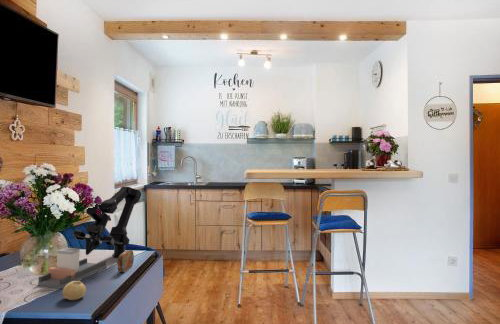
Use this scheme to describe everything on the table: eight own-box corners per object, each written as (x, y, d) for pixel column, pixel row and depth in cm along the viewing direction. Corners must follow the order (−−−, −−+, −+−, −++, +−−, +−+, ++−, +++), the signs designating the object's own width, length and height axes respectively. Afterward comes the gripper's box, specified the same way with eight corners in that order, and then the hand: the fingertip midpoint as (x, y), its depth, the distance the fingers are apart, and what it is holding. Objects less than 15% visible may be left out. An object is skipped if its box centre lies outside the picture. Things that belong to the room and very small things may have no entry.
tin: (122, 274, 160) (122, 256, 160) (115, 274, 160) (116, 256, 160) (134, 264, 175) (134, 247, 175) (128, 264, 175) (128, 247, 175)
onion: (64, 304, 127) (64, 285, 127) (60, 297, 134) (61, 278, 134) (87, 299, 132) (88, 281, 132) (83, 292, 138) (83, 275, 138)
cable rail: (84, 265, 172) (84, 254, 172) (105, 267, 169) (106, 256, 169) (38, 285, 145) (38, 272, 145) (62, 288, 142) (62, 275, 142)
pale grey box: (65, 271, 156) (65, 247, 156) (79, 273, 155) (79, 248, 155) (56, 275, 151) (57, 250, 151) (70, 277, 150) (71, 251, 150)
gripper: (76, 213, 166) (61, 244, 157) (114, 220, 166) (101, 251, 157) (83, 224, 175) (69, 253, 166) (119, 230, 175) (107, 260, 166)
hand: (86, 254), depth 163 cm, fingers closed
